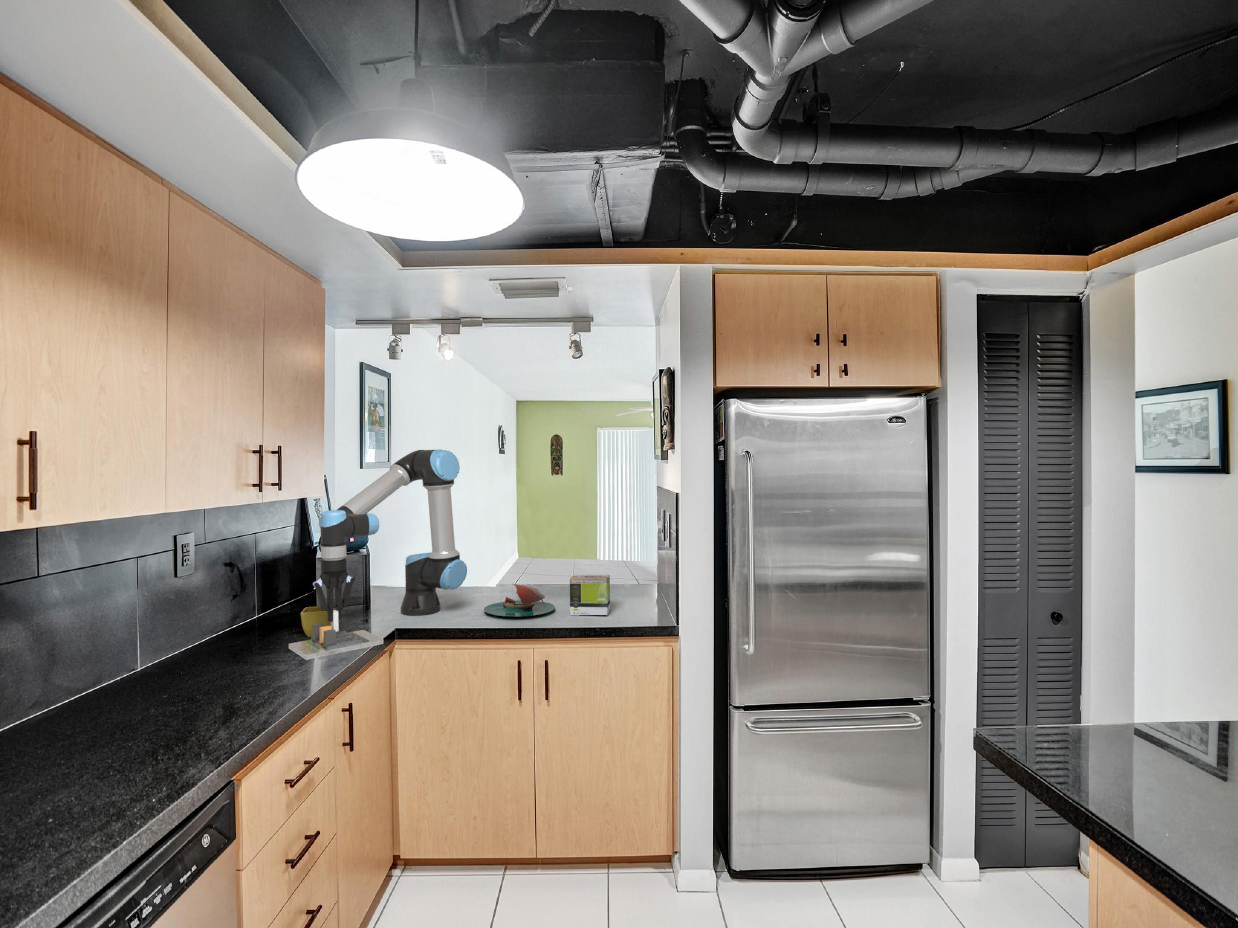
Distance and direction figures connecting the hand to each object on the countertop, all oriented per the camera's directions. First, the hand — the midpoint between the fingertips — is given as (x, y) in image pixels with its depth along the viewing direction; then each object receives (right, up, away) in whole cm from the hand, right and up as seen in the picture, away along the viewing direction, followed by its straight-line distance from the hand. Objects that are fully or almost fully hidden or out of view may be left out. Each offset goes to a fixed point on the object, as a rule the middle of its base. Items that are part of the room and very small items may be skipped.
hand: (334, 630), depth 204 cm
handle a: (-6, -3, +1) cm, 7 cm away
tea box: (+81, -5, +46) cm, 93 cm away
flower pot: (-12, -5, +13) cm, 19 cm away
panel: (0, -5, 0) cm, 5 cm away
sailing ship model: (+52, -5, +47) cm, 71 cm away
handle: (+1, -3, -6) cm, 7 cm away
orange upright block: (-2, -3, -2) cm, 4 cm away
